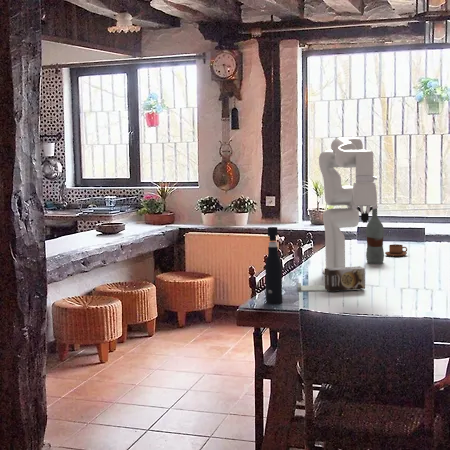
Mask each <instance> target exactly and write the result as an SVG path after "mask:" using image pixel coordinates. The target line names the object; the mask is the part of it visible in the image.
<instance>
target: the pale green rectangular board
mask: <svg viewBox="0 0 450 450" xmlns="http://www.w3.org/2000/svg"><path fill="white" fill-rule="evenodd" d="M353 290H360V291H361V289H353ZM297 291H298V292H328V291H327V289H325V284H324V285H302V283H301V282H298V283H297Z"/></svg>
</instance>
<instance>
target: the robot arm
mask: <svg viewBox="0 0 450 450" xmlns="http://www.w3.org/2000/svg"><path fill="white" fill-rule="evenodd" d="M363 147H364V145H363V141H362V139H360V137H356V136H352V137H349V136H347V137H345V136H344V137H343V136H342V137H337V138H334V139H333V141H331V143H330V149H329V150H324V151H321V153H320V154H319V157H318V165H319V169H320V172H321V175H322V179H323V192H324V201H325V204H326V205H328V206H332V207H333V206H334V207H335V206H338V207H339V206H346V208H345V207H343V208H342V207H339V208H338V207H337V208H336V207H335V208H328V209H326V210H325V211H324V212H323V214H322V220H323V226H324V228H323V229H324V239H325V240H324V241H325V244H324V245H325V246H324V247H325V248H324V249H325V250H324V251H325V252H324V253H325V268H341V267H346V238H345V234H344V233H343V231H341V229H342V228H356V227H357V226H359V223H360V221H362V223H363V224H364V223H366V224H368V222H369V221H370V218H369V213H370V212H372V209H376V208H377V209H378V207H379V206H378V193H377V185H376V182H374V181H376V180H378V176H375V175H374V152H373V151H372V150H368V149H367V150H366V149H364V148H363ZM336 168H342V169H343V168H344V169H345V168H355V182H354V183H353V185H342V177H341V176H342V175H340V173H339V172H338V171H337V169H336ZM364 207H366V208H365V210H364ZM325 268H324V269H322V273H323V274H325Z"/></svg>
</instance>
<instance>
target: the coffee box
mask: <svg viewBox="0 0 450 450" xmlns="http://www.w3.org/2000/svg"><path fill="white" fill-rule="evenodd" d="M324 269H325V273H324V285H325V289H327V290H328V291H327V292H340V291H339V290H353V289H360V290H364V289H366V268H365V267H362V266H361V265H359V266H358V265H357V266H345V267H341V268H326V267H325V268H324Z"/></svg>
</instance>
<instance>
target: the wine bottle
mask: <svg viewBox="0 0 450 450" xmlns="http://www.w3.org/2000/svg"><path fill="white" fill-rule="evenodd" d="M267 236H268V237H269V242H268V247H267V252H268V254H267V257H266V260H265V265H264V266H265V267H264V268H265V272H264V273H265V274H264V275H265V303H266V304H269V305H278V304H279V305H280V304H282V303H283V278H282V268H283V267H282V262H281V258H280V256H279V248H278V247H279V246H277V245H278V243H277V237H278V227H277V226H269V227H267Z"/></svg>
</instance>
